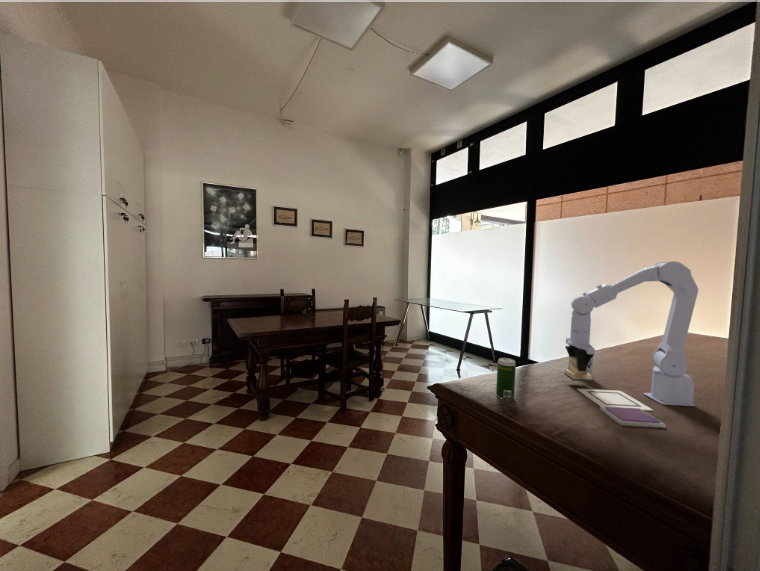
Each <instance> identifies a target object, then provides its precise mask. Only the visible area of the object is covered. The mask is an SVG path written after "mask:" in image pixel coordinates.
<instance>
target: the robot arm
mask: <svg viewBox="0 0 760 571" xmlns="http://www.w3.org/2000/svg"><path fill="white" fill-rule="evenodd" d="M644 282H645V283H646V282H659V283H662V284H664V285H665V286H666V287H667V288H668V289H670V291H672V292H673V296H672V300H671V304H670V308H669V312H668V315H667V319H666V324H665V329H664V332H663V336H662V340H661V341H660V342H659V344H658V345H657V348H656V349H655V350H654V351H653V353H652V355H651V360H652V362H653V364H654V367H652V376H651V377H652V378H651V385H650V386H651V388H650V392H643V395H644V396H646V397H648V398H649V399H652V400H653V401H655V402H657V403H659V404H661V405H665V406H683V407H695V406H696V404H694V403H693V402H694V392H695V384H694V380H693V379H692V377H691V376H690V375H688V374H686V372H687V371H688V363H687V358H686V357H687V351H686V348H685V345H686V340H687V338H688V332H689V329H690V326H691V325H690V324H691V322H692V321H691V320H692V317H693V312H694V310H695V309H694V308H695V306H696V301H697V297H698V293H699V287H698V285H697V284H696V282H695V278H693V276H692V270H691V269H690V268H688V267H687V266H686V265H685V264H683V263H681V262H680V261H660V262H657V263H655V264H654V265H650V266H647V267H645V268H642V269H640V270H637V271H636V272H633V273H632V274H630V275H629V276H626V277H625V278H622V279H620V280H618V281H617V282H615V283H613V284H611V285H610V284H605V283H604V284H602V285H601V284H598V285H596V288H594V289H592V290H590V291H588V292H583V293H582V295H580V296H577V297H574V299H573V300H572V301H571V303H570V304H571V308H572V312H571V320H570V322H571V323H570V337H566V338H565V344H566V346H565V350H566V352H567V354H568V359H569V358H570V357H577V366H578V371H586V368H587V366H588V363H589V361H590V360H591V358H592V357H593V358H594V356H595V354H596V348H594V347H593V345H591V344H590V340H591V339H590V338H591V325H592V324H591V322H592V318H591V313H592V311H593V310H594V308H595V309H596V308H599V307H601V306H604V305H605V304H608V303H609V302H612V301H614V300H616V299H617V295H618V294H619V293H621V292H623V291H626V290H629V289H630V288H633V287H635V286H638V285H640V284H642V283H644Z"/></svg>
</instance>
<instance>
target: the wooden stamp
mask: <svg viewBox="0 0 760 571" xmlns="http://www.w3.org/2000/svg"><path fill="white" fill-rule="evenodd" d="M568 367H569V369H568V368H565V369H564V375H565V376H566V377H567V378H569V379H570V380H572V381H577V382H592V379H593V374H592V375H590V374H588V373H587V368H588V366H587V368H586V371H578V366H577V357H570V361H569V360H568Z"/></svg>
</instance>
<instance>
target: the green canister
mask: <svg viewBox="0 0 760 571" xmlns="http://www.w3.org/2000/svg"><path fill="white" fill-rule="evenodd" d="M516 366H517V364H516V361H515V359H512V358H507V357H501V358H500V357H499V358H498V361H497V367H496V369H497V370H496V390H495V391H496V392H495V394H496V397H497V396H498V397H499V398H498V397H497V398H498V399H500V398H502V399H505V400H504V401H512V400H513V399H515V389H516V388H515V386H516ZM502 399H501V400H502ZM511 399H512V400H511Z"/></svg>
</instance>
